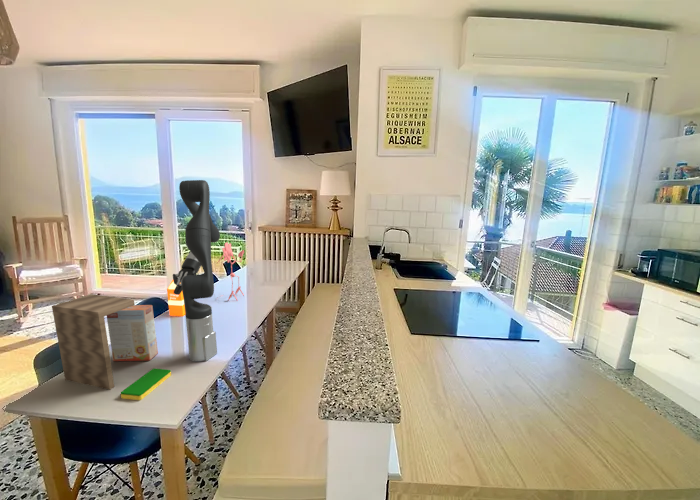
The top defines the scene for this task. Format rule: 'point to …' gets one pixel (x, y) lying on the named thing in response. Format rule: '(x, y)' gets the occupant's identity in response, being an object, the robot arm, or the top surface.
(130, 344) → the cracker box
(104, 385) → the walnut shelf
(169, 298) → the orange juice
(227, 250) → the figurine
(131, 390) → the dish sponge
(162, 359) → the top surface
